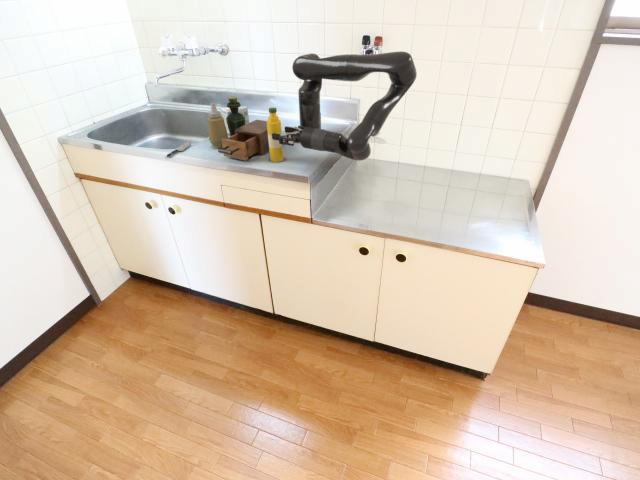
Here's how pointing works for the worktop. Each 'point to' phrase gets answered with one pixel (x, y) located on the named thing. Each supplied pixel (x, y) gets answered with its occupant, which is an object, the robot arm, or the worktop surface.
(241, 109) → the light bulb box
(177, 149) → the chef's knife
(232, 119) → the potion bottle
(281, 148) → the lemon bottle
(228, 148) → the drawer
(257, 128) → the cabinet
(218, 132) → the squeeze bottle
